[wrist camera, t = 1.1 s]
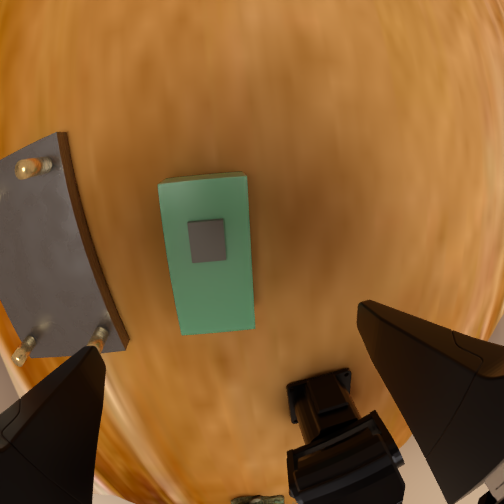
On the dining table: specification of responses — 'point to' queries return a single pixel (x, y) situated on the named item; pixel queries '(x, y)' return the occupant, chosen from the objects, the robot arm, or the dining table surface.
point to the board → (209, 251)
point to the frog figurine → (259, 500)
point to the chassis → (51, 258)
